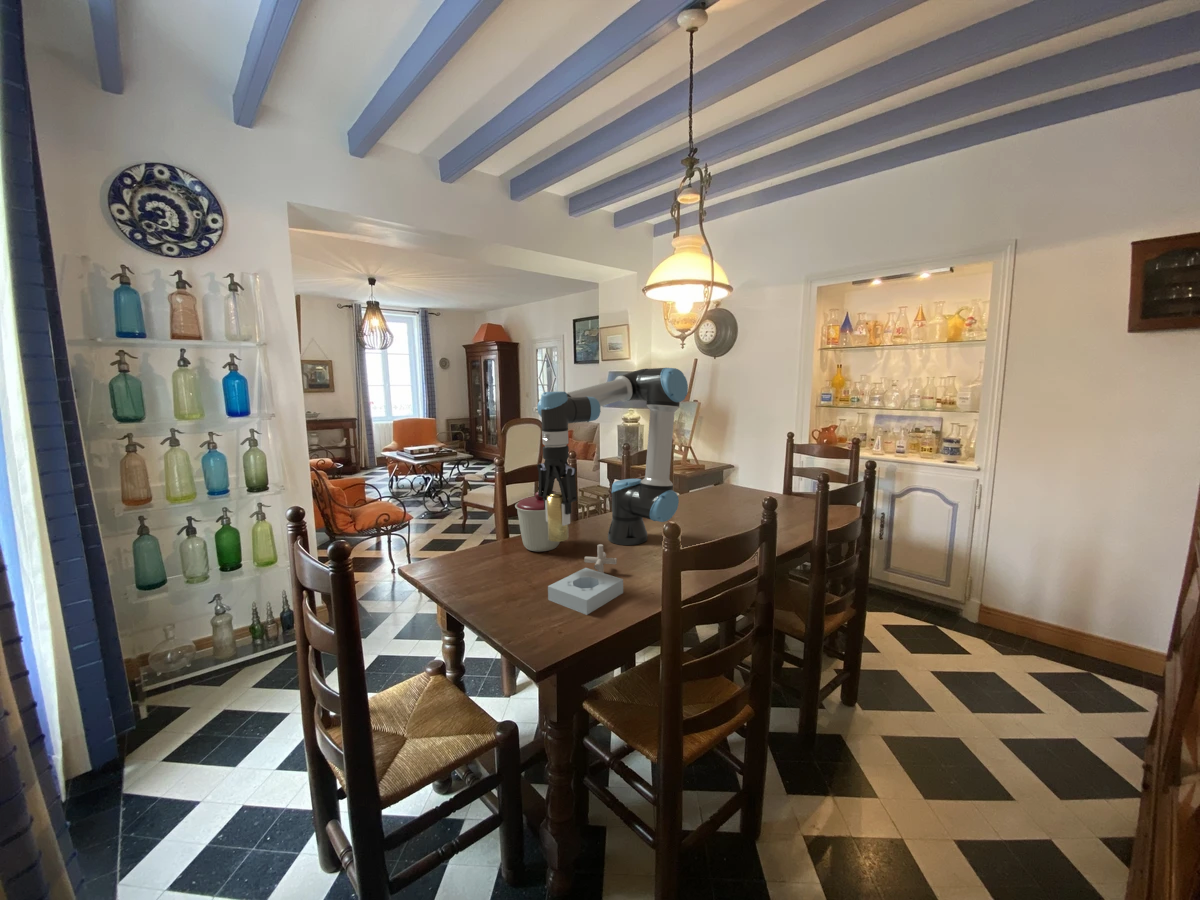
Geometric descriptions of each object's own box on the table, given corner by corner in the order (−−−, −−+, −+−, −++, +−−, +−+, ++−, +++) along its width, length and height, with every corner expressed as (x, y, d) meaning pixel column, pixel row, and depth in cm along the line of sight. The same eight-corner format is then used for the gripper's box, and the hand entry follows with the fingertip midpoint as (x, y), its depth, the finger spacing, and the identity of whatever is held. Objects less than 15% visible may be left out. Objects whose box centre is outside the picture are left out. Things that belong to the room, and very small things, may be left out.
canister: (532, 560, 163) (529, 500, 160) (508, 545, 178) (505, 490, 175) (575, 548, 174) (574, 492, 171) (550, 535, 188) (548, 483, 185)
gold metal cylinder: (558, 533, 146) (556, 490, 144) (572, 537, 142) (571, 493, 140) (544, 538, 141) (542, 494, 139) (558, 543, 138) (557, 497, 136)
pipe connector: (613, 583, 144) (613, 551, 142) (581, 581, 146) (580, 550, 144) (619, 570, 153) (618, 540, 152) (588, 568, 155) (588, 539, 154)
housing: (585, 583, 144) (585, 567, 143) (623, 595, 136) (623, 579, 135) (548, 603, 132) (547, 586, 131) (586, 618, 123) (586, 600, 122)
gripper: (523, 444, 141) (526, 519, 144) (571, 449, 129) (573, 531, 132) (541, 441, 146) (544, 514, 150) (588, 446, 135) (590, 525, 138)
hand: (558, 522), depth 141 cm, fingers closed on gold metal cylinder, 6 cm apart
